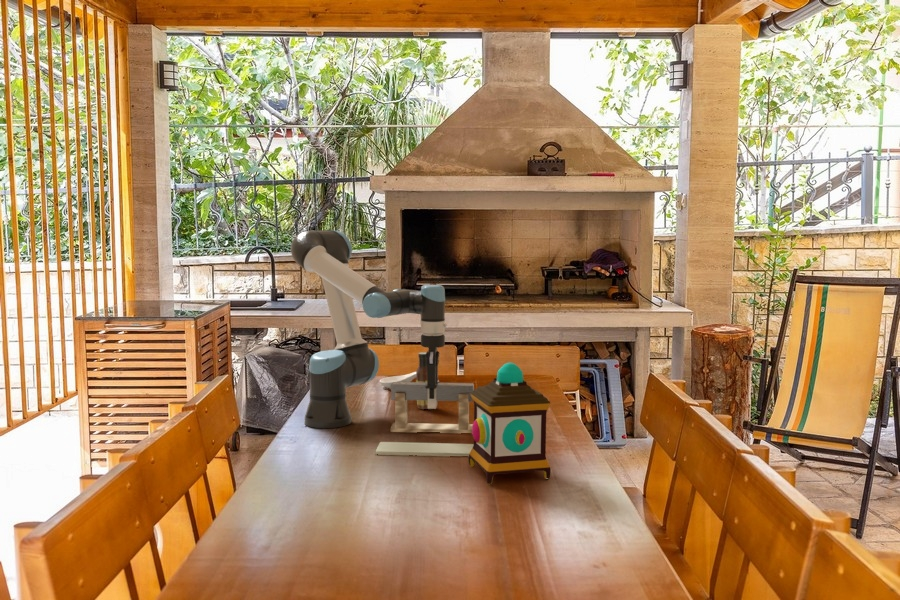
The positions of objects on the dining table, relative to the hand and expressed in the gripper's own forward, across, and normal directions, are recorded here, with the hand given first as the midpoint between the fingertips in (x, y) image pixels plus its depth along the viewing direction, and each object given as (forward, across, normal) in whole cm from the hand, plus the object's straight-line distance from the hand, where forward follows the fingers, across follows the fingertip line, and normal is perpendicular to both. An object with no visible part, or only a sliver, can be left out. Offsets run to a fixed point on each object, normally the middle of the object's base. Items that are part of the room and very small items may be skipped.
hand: (432, 406), depth 270 cm
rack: (+8, 0, 0) cm, 8 cm away
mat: (+8, -24, 0) cm, 25 cm away
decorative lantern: (+8, -43, -24) cm, 50 cm away
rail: (-2, 0, 0) cm, 2 cm away
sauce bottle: (+8, +30, +5) cm, 31 cm away
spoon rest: (+8, +64, +14) cm, 66 cm away
